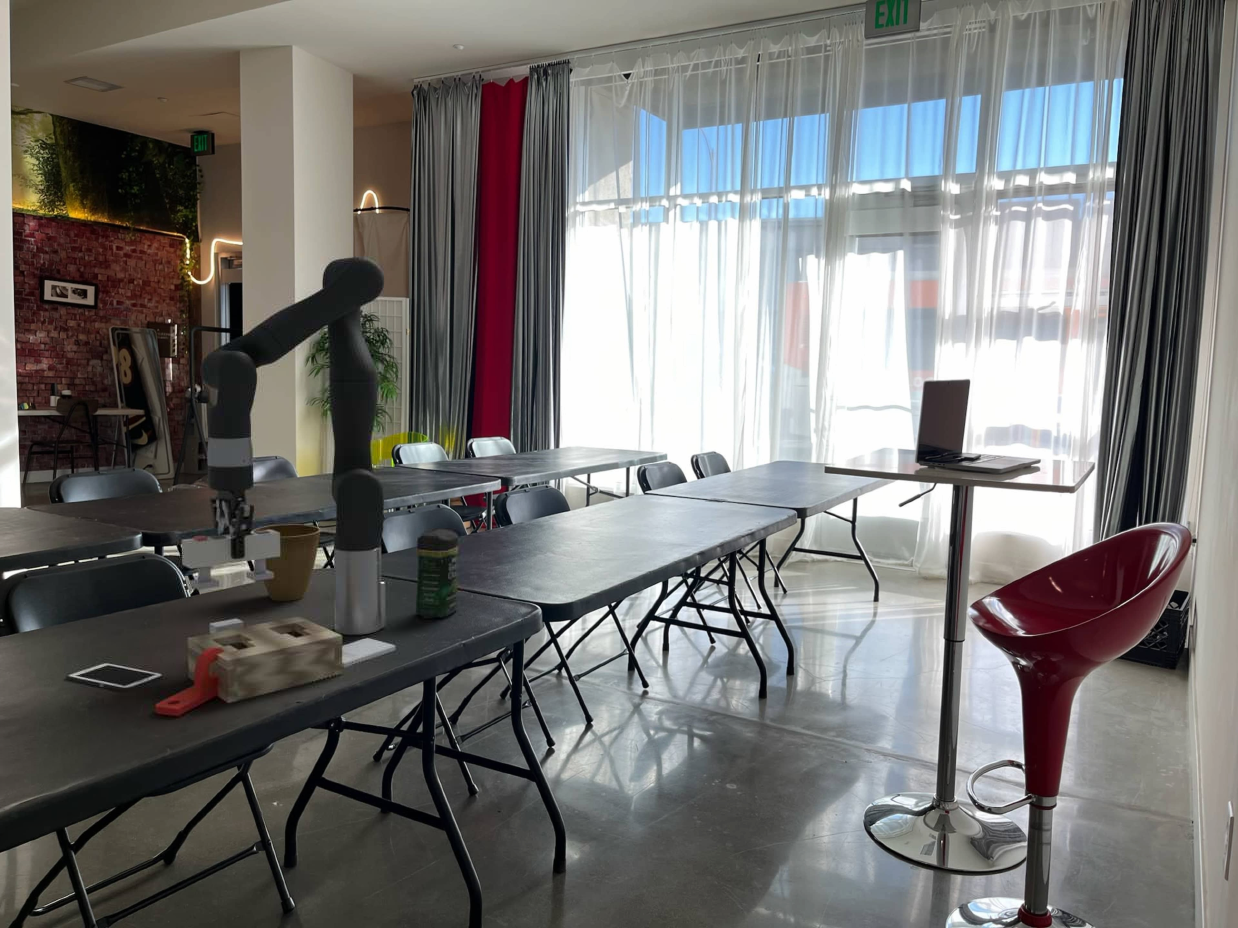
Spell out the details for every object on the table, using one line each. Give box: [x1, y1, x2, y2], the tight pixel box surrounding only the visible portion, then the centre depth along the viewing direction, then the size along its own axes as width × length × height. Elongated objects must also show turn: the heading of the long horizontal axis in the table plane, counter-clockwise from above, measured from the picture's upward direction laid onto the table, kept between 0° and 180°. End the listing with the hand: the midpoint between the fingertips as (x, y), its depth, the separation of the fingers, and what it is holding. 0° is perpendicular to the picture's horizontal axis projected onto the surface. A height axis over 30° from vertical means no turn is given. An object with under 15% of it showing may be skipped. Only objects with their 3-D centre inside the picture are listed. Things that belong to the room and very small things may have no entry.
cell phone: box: [65, 662, 165, 693], centre depth 151 cm, size 8×15×1 cm, turn 69°
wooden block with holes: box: [187, 616, 343, 704], centre depth 153 cm, size 20×16×7 cm
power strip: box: [181, 530, 280, 591], centre depth 160 cm, size 16×4×9 cm, turn 136°
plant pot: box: [251, 523, 321, 602], centre depth 204 cm, size 15×15×16 cm
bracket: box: [155, 647, 224, 717], centre depth 141 cm, size 12×4×8 cm, turn 167°
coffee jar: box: [415, 528, 459, 619], centre depth 194 cm, size 10×8×19 cm
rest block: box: [209, 618, 245, 634], centre depth 164 cm, size 5×3×6 cm, turn 137°
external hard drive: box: [342, 637, 396, 669], centre depth 166 cm, size 2×8×12 cm
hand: (232, 555), depth 160 cm, fingers closed on power strip, 4 cm apart
